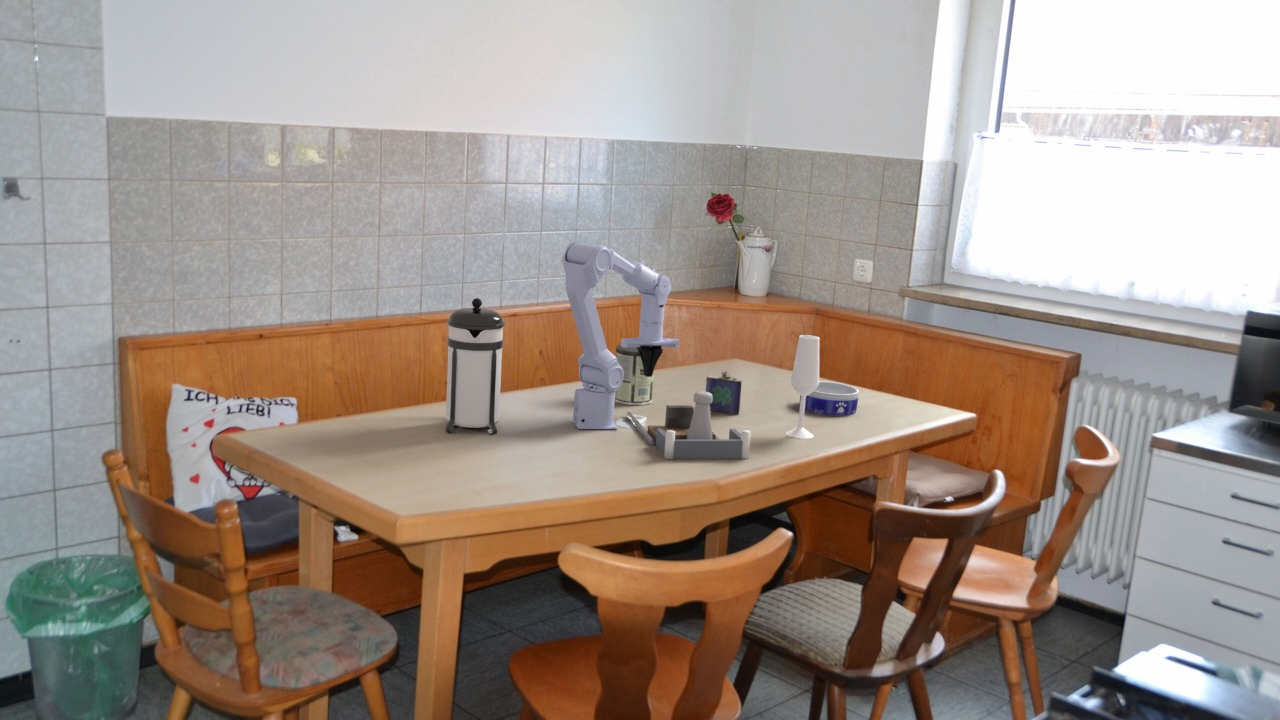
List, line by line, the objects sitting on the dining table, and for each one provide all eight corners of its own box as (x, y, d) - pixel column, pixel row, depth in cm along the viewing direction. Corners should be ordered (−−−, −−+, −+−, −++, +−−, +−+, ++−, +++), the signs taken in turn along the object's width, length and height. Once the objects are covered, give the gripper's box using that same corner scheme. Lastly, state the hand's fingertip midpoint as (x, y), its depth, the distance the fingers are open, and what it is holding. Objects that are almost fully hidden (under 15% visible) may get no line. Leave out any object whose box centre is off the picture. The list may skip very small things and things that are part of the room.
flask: (702, 410, 281) (706, 369, 279) (705, 408, 284) (709, 367, 282) (737, 416, 279) (741, 374, 276) (740, 413, 281) (744, 372, 279)
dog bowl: (839, 401, 302) (841, 380, 301) (867, 416, 288) (869, 394, 287) (789, 402, 297) (791, 380, 296) (815, 417, 283) (817, 394, 282)
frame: (665, 459, 237) (667, 432, 236) (653, 445, 247) (655, 420, 246) (749, 458, 242) (752, 432, 241) (734, 445, 251) (737, 420, 250)
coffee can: (626, 393, 294) (630, 342, 291) (659, 401, 288) (663, 348, 285) (604, 400, 285) (608, 347, 282) (638, 407, 280) (641, 353, 277)
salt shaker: (711, 453, 244) (716, 396, 241) (686, 451, 244) (690, 394, 242) (711, 445, 250) (716, 390, 247) (686, 443, 250) (690, 388, 247)
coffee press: (522, 429, 252) (528, 300, 246) (466, 440, 241) (471, 305, 235) (474, 413, 264) (479, 289, 258) (419, 422, 252) (423, 293, 246)
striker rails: (650, 445, 247) (651, 440, 247) (626, 416, 270) (626, 411, 270) (720, 445, 251) (720, 440, 251) (690, 416, 274) (690, 412, 274)
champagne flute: (797, 429, 269) (806, 333, 264) (819, 436, 265) (829, 338, 260) (779, 433, 265) (789, 335, 260) (802, 440, 260) (812, 340, 255)
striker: (655, 443, 247) (657, 413, 246) (647, 433, 255) (649, 404, 254) (715, 443, 251) (717, 413, 249) (704, 433, 258) (707, 404, 257)
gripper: (628, 324, 262) (625, 379, 265) (685, 324, 267) (681, 379, 270) (619, 319, 269) (616, 373, 272) (675, 319, 274) (671, 372, 277)
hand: (647, 375), depth 271 cm, fingers closed
